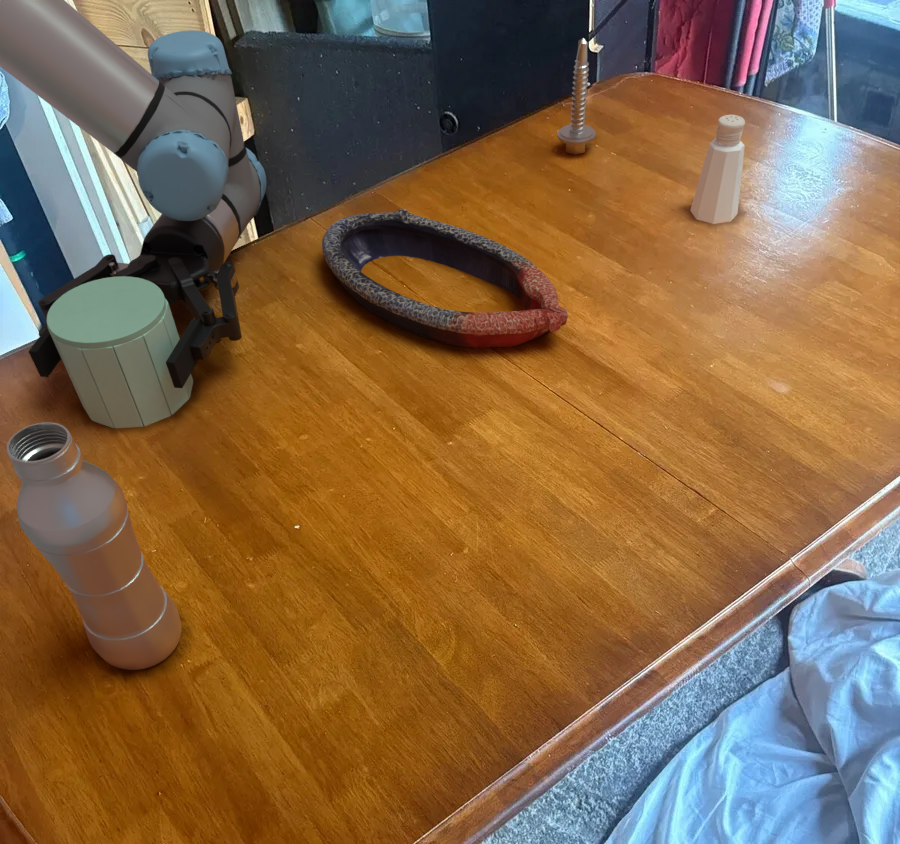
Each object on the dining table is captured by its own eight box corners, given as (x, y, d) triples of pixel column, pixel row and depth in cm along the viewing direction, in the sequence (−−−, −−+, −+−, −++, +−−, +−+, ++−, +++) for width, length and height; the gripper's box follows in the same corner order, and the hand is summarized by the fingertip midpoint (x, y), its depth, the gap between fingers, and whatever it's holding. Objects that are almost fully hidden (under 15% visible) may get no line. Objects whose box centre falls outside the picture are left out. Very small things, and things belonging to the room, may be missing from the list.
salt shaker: (711, 236, 100) (731, 135, 92) (678, 216, 103) (695, 117, 95) (746, 221, 102) (769, 120, 94) (713, 202, 105) (732, 103, 97)
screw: (570, 138, 117) (601, 147, 115) (549, 152, 115) (581, 162, 113) (577, 27, 107) (611, 35, 105) (554, 40, 105) (589, 48, 103)
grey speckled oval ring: (390, 227, 104) (385, 185, 101) (601, 324, 91) (606, 280, 87) (289, 284, 98) (281, 241, 94) (501, 399, 84) (502, 354, 80)
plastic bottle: (149, 695, 64) (38, 495, 49) (81, 659, 66) (-45, 457, 51) (206, 632, 68) (120, 427, 52) (140, 599, 70) (38, 394, 54)
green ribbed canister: (64, 416, 85) (21, 325, 77) (134, 357, 90) (100, 266, 82) (148, 446, 81) (112, 354, 74) (215, 382, 87) (188, 291, 79)
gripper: (309, 283, 94) (245, 414, 80) (93, 269, 97) (-2, 393, 84) (297, 214, 88) (226, 343, 74) (68, 202, 91) (-40, 323, 78)
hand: (105, 370), depth 79 cm, fingers open, 12 cm apart
